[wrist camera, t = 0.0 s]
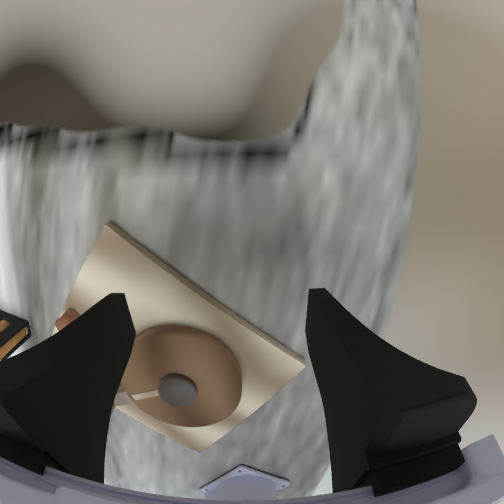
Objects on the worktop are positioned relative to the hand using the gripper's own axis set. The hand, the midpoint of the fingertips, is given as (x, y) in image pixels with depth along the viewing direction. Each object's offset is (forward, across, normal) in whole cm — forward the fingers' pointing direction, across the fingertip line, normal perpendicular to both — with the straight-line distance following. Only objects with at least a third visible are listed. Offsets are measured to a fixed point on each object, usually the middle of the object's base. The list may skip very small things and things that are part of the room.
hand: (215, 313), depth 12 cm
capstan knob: (+7, +6, +13) cm, 16 cm away
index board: (+9, +7, +12) cm, 16 cm away
